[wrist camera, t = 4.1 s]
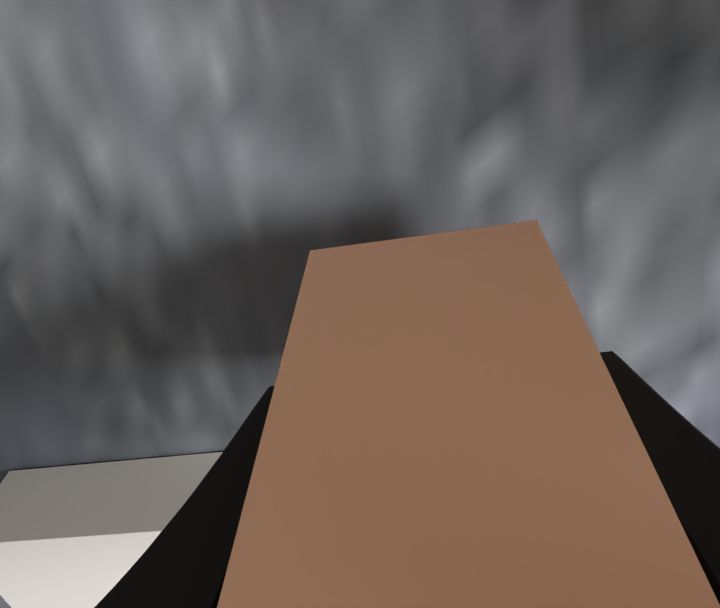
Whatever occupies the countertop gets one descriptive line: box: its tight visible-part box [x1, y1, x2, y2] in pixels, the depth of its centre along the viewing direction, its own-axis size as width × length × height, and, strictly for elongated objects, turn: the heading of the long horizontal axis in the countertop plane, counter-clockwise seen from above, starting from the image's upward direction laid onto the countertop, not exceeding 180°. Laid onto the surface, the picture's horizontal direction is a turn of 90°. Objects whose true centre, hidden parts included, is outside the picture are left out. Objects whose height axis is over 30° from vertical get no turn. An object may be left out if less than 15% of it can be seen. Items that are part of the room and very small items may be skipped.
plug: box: [217, 220, 720, 608], centre depth 8 cm, size 4×4×8 cm
